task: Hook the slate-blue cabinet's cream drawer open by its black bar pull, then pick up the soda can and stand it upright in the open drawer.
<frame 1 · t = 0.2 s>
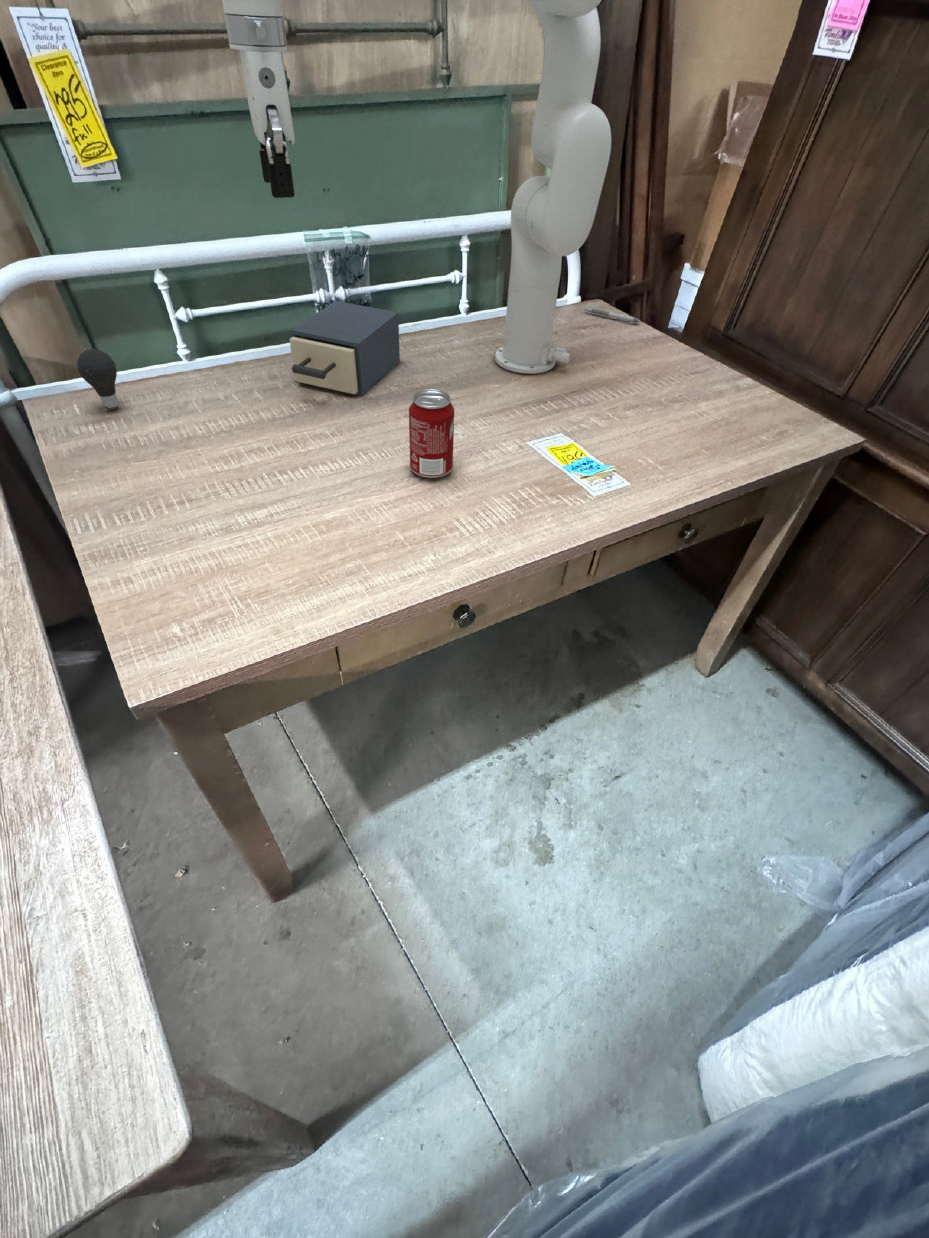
hand: (279, 189, 93), 31 cm above the table, tool pointing down, fingers open, 9 cm apart
pen: (610, 319, 147), on the table
soda can: (431, 470, 98), on the table
cabinet: (350, 371, 121), on the table
light bulb: (113, 409, 107), on the table
drawer: (336, 356, 114), point 5 cm above the table, slide at 0.5 cm
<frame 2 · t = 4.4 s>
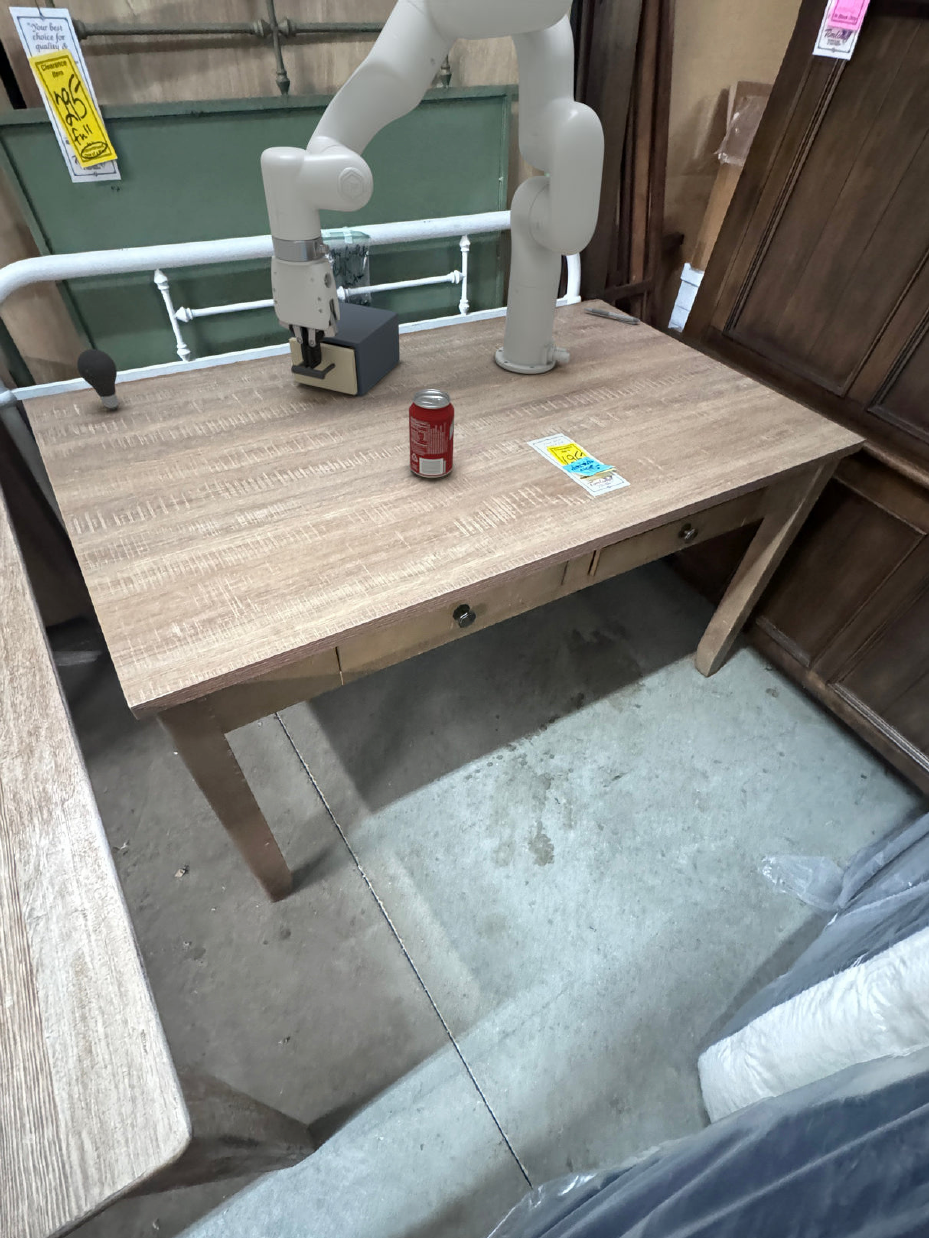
hand: (313, 365, 108), 6 cm above the table, tool pointing down, fingers closed
drawer: (335, 356, 114), point 5 cm above the table, slide at 0.7 cm, touching gripper
everything else where it was.
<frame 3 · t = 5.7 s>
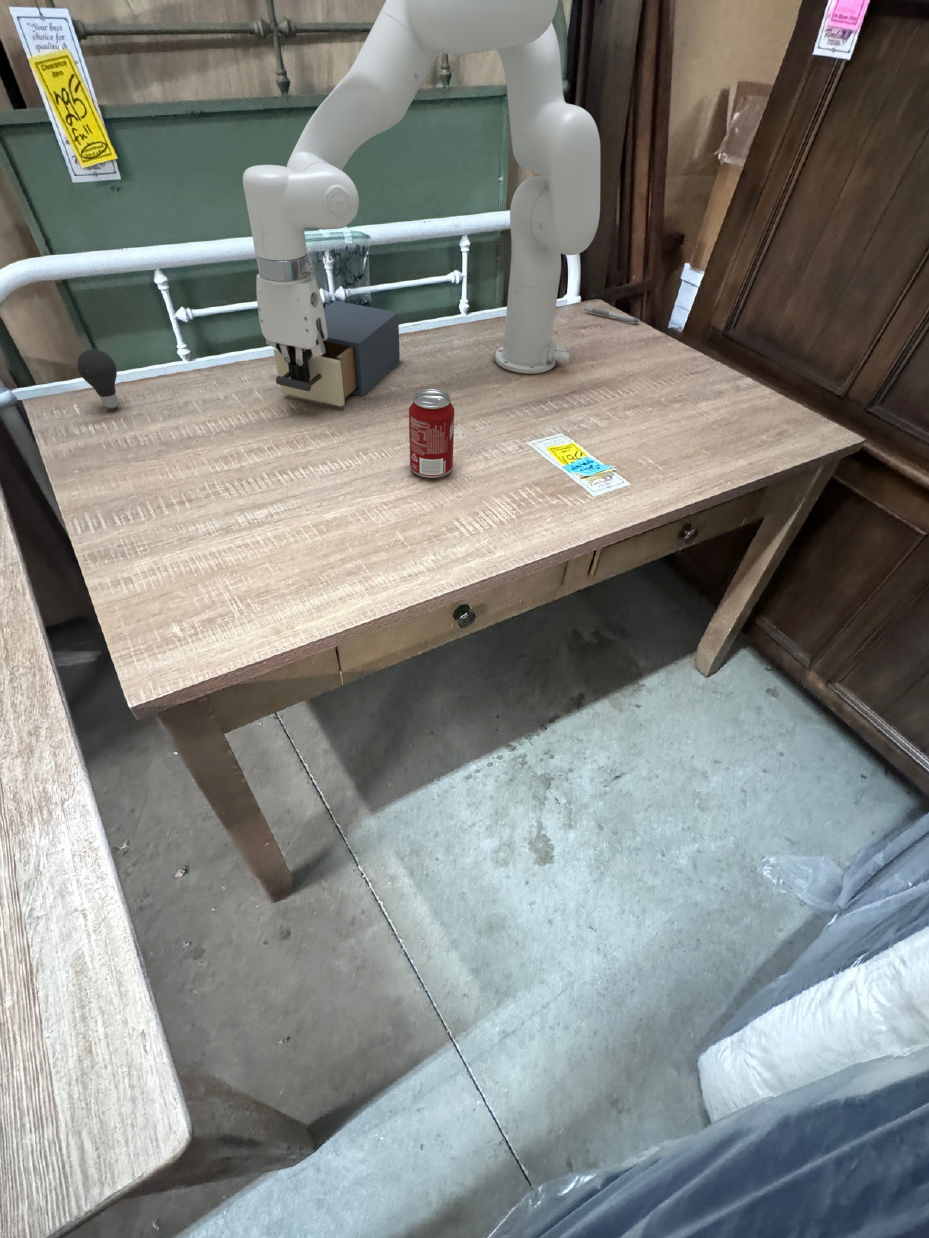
hand: (301, 384, 106), 5 cm above the table, tool pointing down, fingers closed
drawer: (322, 367, 111), point 5 cm above the table, slide at 5.6 cm, touching gripper
everything else where it was.
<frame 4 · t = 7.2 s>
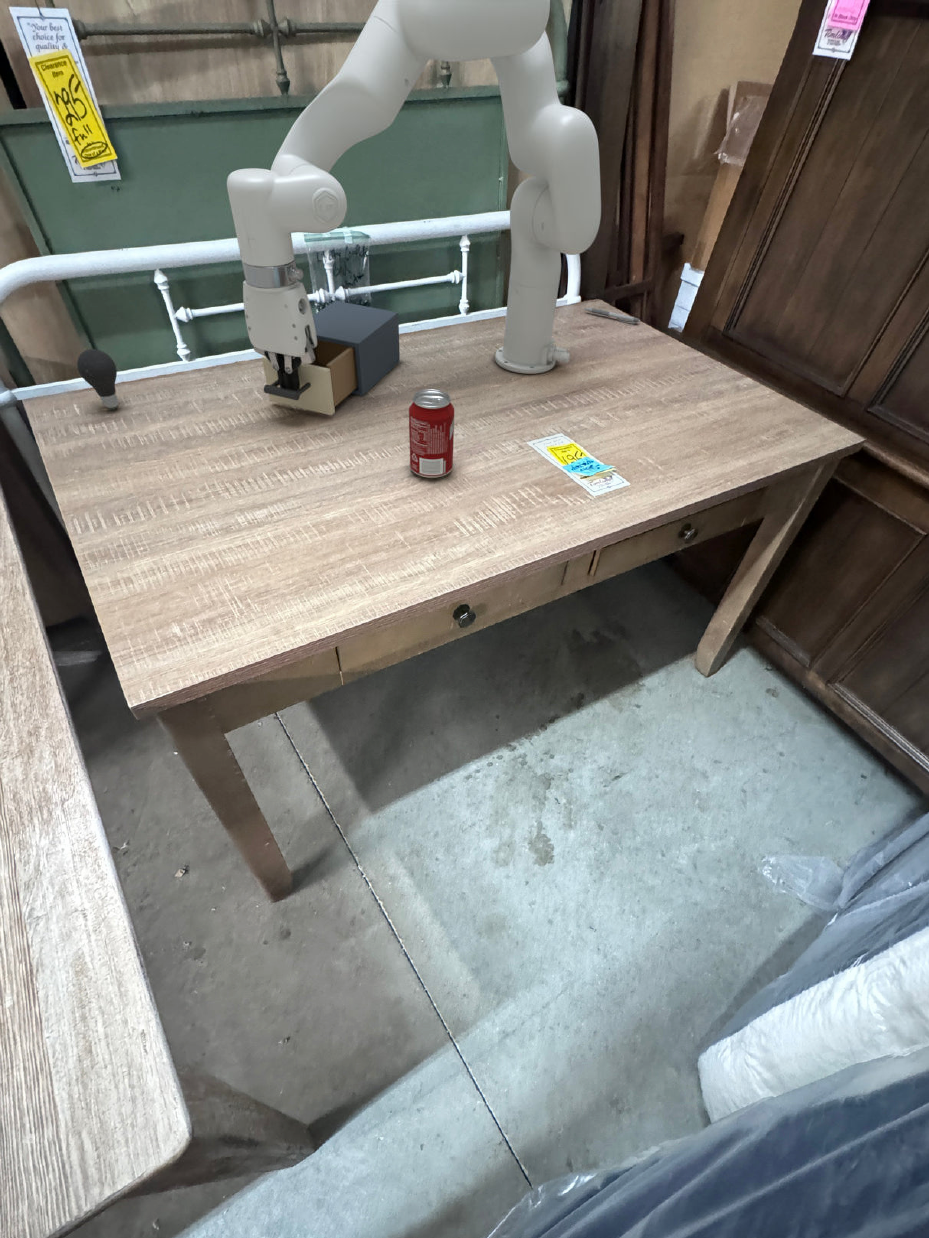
hand: (290, 391, 104), 5 cm above the table, tool pointing down, fingers closed
drawer: (312, 374, 108), point 5 cm above the table, slide at 9.2 cm
everything else where it was.
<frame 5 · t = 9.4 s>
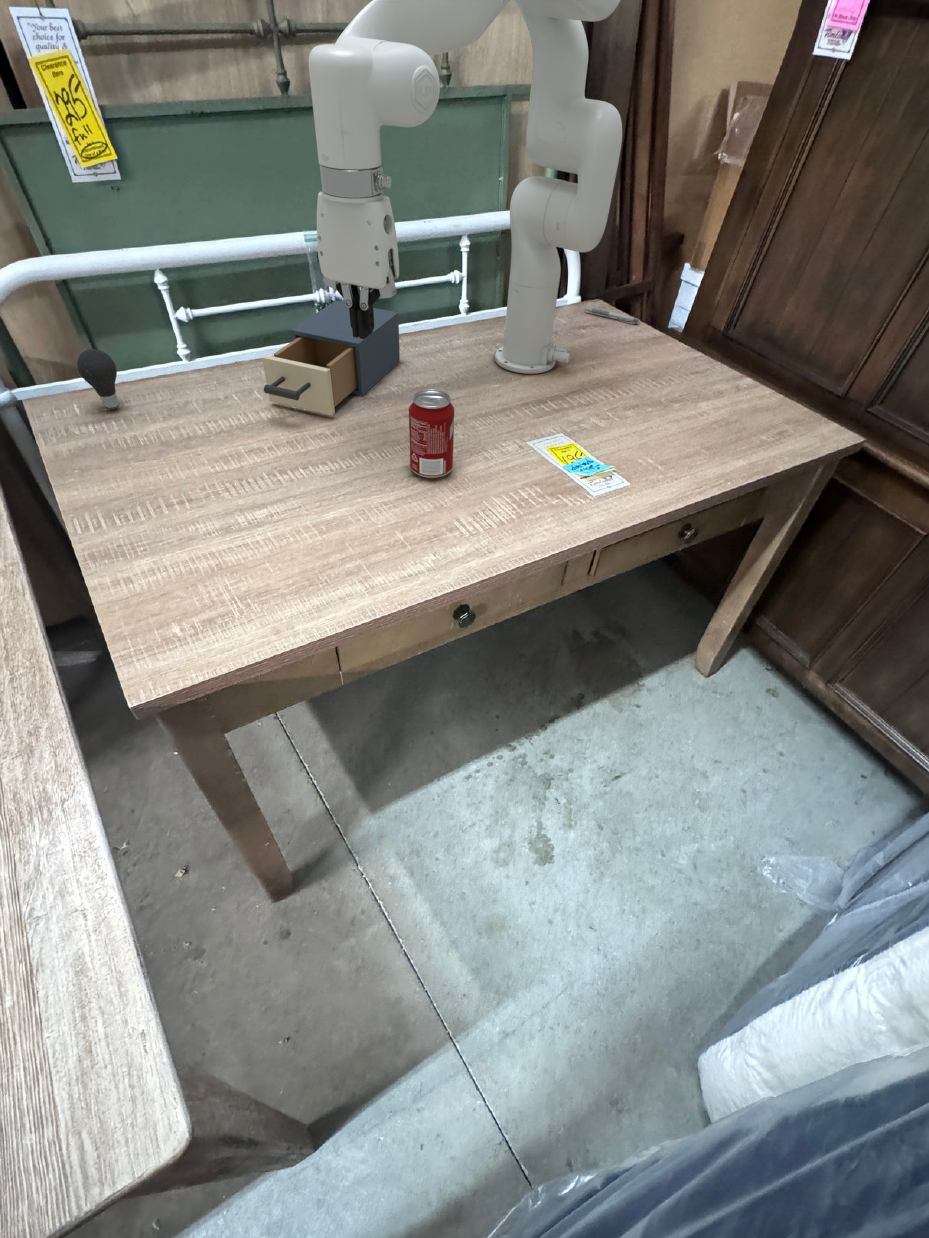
hand: (363, 334, 89), 18 cm above the table, tool pointing down, fingers closed
nothing on the table moved.
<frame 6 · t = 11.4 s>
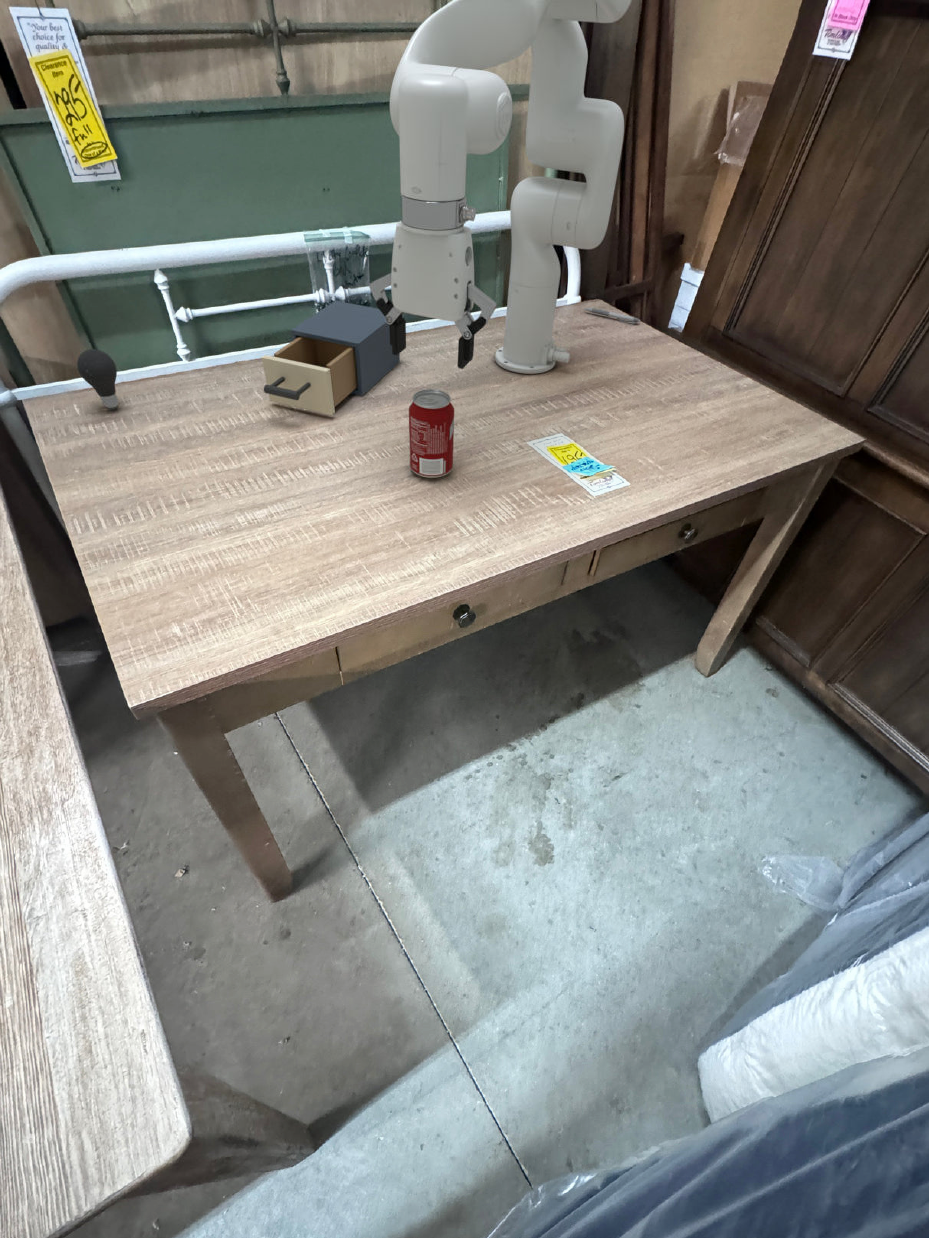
hand: (431, 358, 85), 18 cm above the table, tool pointing down, fingers open, 9 cm apart
nothing on the table moved.
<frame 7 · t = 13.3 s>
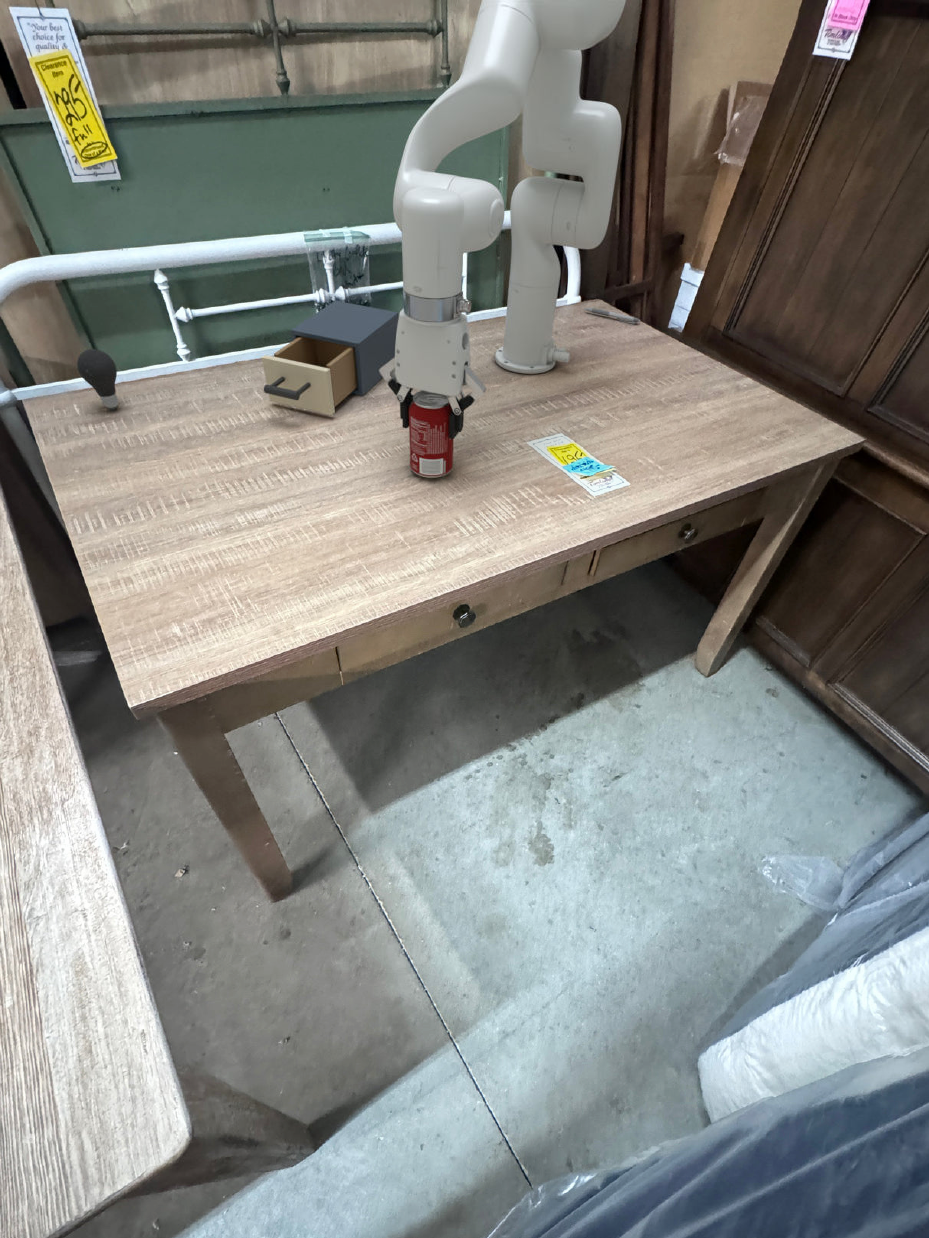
hand: (431, 428, 93), 7 cm above the table, tool pointing down, fingers closed on soda can, 6 cm apart
soda can: (431, 470, 98), on the table, touching gripper
everything else where it was.
when the fingers open (9 cm above the table, at t = 21.3 s): soda can stays where it is, resting on drawer.
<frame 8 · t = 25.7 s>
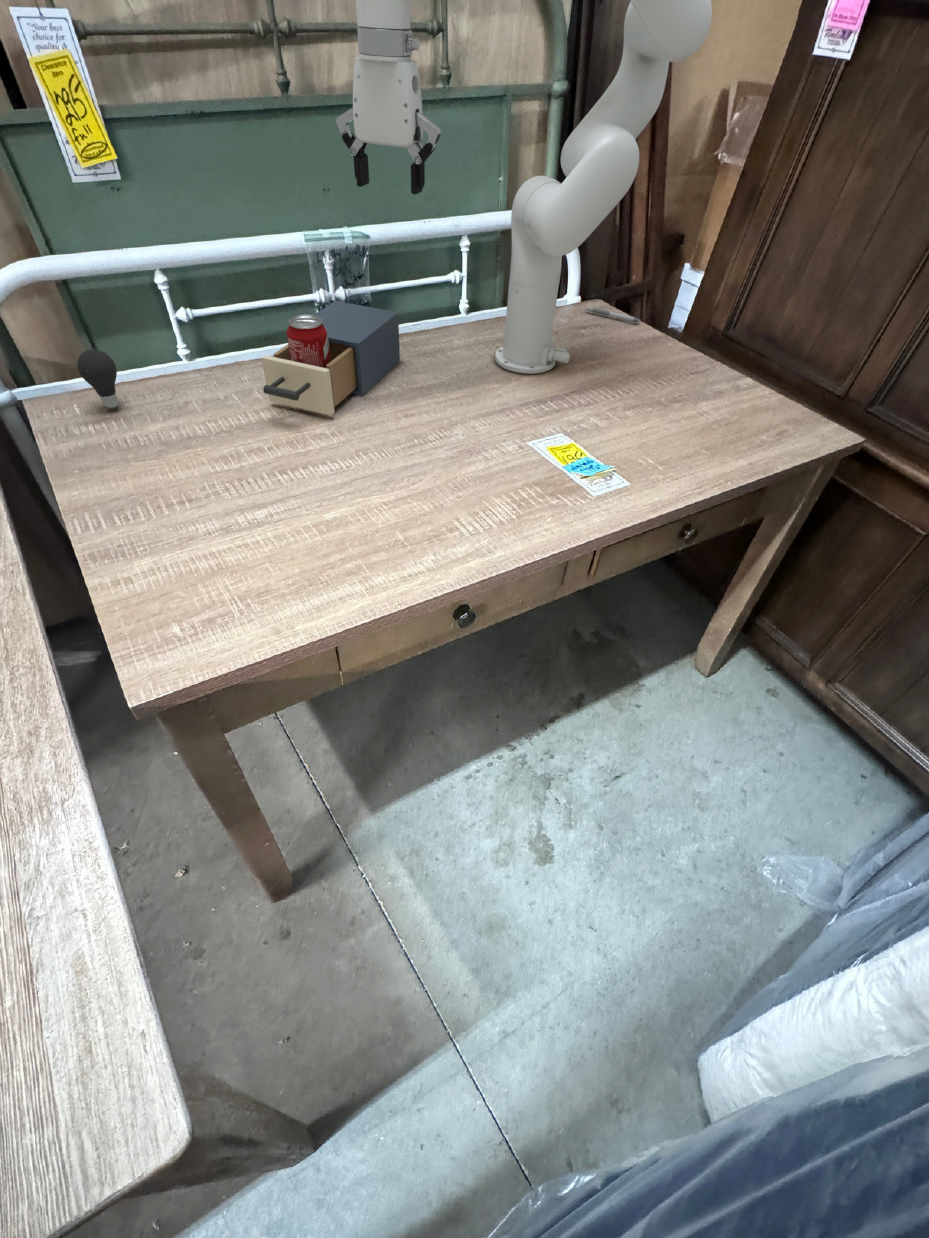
hand: (389, 188, 100), 30 cm above the table, tool pointing down, fingers open, 9 cm apart
soda can: (315, 391, 111), point 2 cm above the table, touching drawer
drawer: (312, 375, 108), point 5 cm above the table, slide at 9.3 cm, touching soda can
everything else where it was.
at the end: drawer slide at 9.3 cm; soda can inside the target area in the drawer (0.3 cm from its centre), point 1.8 cm above the cabinet's base; soda can tilted 0° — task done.
